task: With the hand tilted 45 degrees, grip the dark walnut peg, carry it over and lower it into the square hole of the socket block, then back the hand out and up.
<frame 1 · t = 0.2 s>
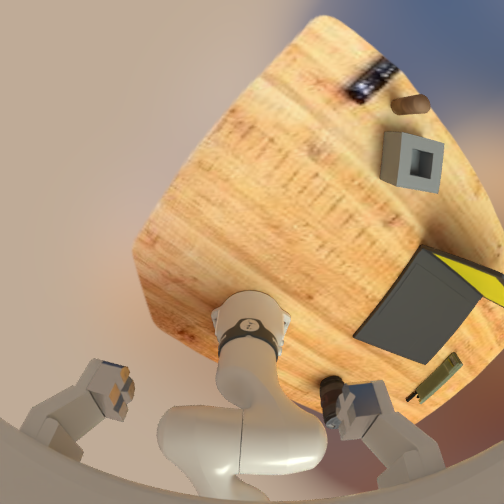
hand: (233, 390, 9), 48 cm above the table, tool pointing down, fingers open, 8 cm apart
walnut peg: (398, 107, 45), on the table
handheld radio: (429, 376, 76), on the table
laptop: (430, 305, 64), on the table
camera lens: (331, 382, 75), on the table
socket block: (402, 159, 49), on the table
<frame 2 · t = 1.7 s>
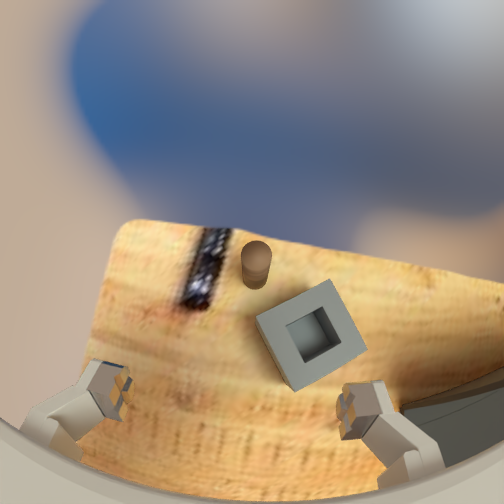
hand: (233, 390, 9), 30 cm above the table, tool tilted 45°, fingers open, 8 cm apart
walnut peg: (255, 277, 41), on the table
laptop: (464, 437, 31), on the table
socket block: (301, 338, 38), on the table
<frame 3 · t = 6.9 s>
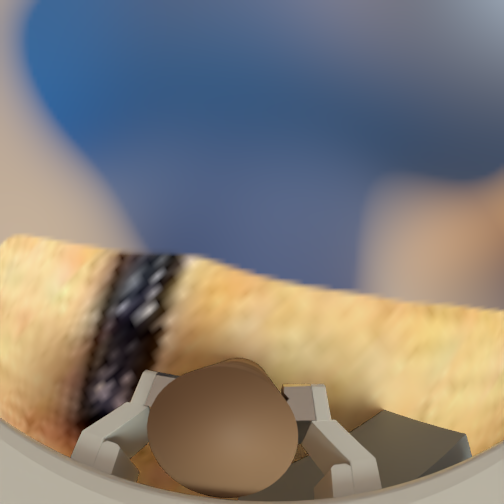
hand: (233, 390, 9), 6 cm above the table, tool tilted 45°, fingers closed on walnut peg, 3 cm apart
walnut peg: (238, 387, 15), on the table, touching gripper
socket block: (344, 501, 11), on the table
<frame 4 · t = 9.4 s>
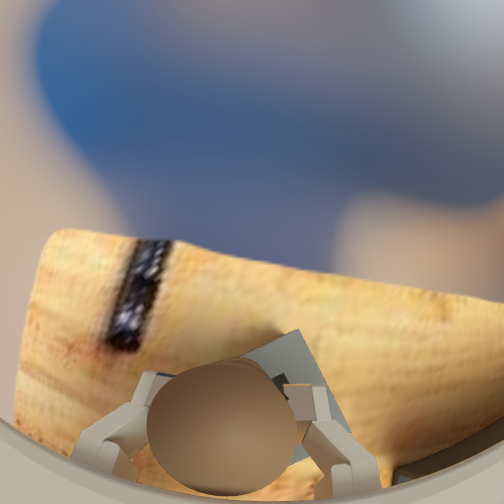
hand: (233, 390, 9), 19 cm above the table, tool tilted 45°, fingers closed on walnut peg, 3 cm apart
walnut peg: (238, 386, 15), point 13 cm above the table, touching gripper
laptop: (468, 487, 19), on the table
socket block: (262, 397, 26), on the table
when the fingers open (11 cm above the table, at t = 12.1 s): walnut peg drops 2 cm, resting on socket block.
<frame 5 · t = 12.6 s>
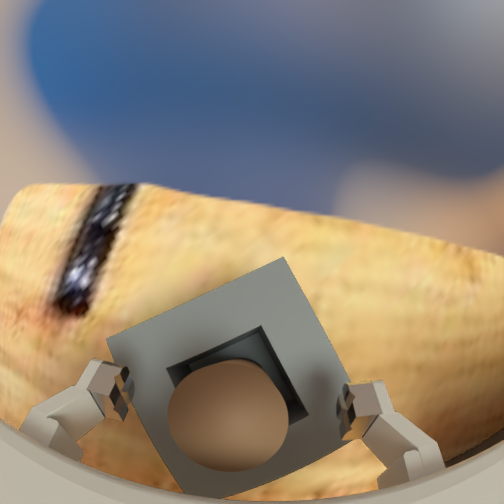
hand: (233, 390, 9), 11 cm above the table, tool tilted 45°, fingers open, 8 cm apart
walnut peg: (240, 384, 16), point 3 cm above the table, touching socket block
laptop: (500, 488, 12), on the table
socket block: (242, 378, 19), on the table
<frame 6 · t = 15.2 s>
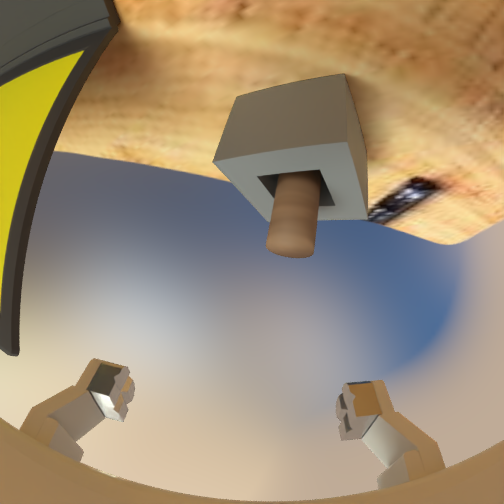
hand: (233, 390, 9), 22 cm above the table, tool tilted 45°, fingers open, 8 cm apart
walnut peg: (304, 145, 23), point 3 cm above the table, touching socket block
socket block: (306, 123, 24), on the table
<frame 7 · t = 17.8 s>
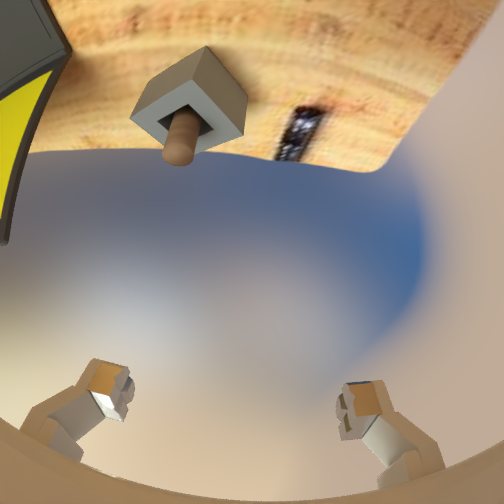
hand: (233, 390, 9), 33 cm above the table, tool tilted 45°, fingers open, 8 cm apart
walnut peg: (193, 99, 31), point 3 cm above the table, touching socket block
socket block: (197, 86, 33), on the table
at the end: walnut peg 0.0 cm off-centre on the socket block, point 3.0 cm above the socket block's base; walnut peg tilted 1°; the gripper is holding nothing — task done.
